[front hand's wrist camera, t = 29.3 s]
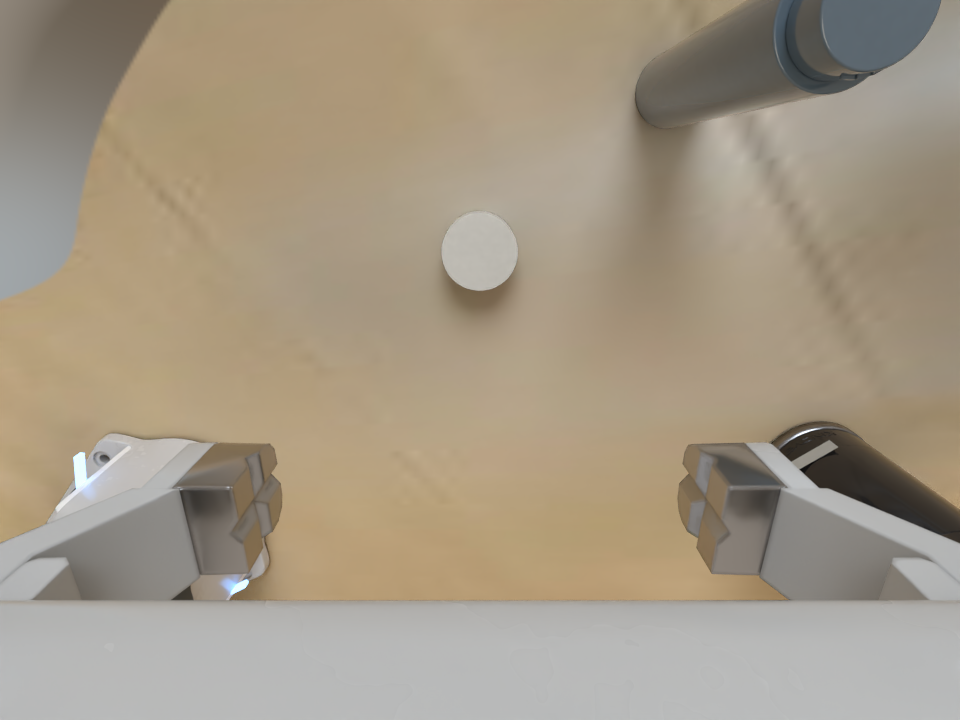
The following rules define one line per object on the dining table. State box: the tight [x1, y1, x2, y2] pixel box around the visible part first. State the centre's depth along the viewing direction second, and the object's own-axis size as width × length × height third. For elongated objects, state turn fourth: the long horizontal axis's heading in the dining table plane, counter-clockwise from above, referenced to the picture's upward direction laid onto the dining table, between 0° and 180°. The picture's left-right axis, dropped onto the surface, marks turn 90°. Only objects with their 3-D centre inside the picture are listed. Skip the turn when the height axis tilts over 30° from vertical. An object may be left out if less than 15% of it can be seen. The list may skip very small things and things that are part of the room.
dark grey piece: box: [636, 0, 941, 129], centre depth 26 cm, size 5×5×20 cm
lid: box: [441, 211, 518, 291], centre depth 38 cm, size 6×6×2 cm
